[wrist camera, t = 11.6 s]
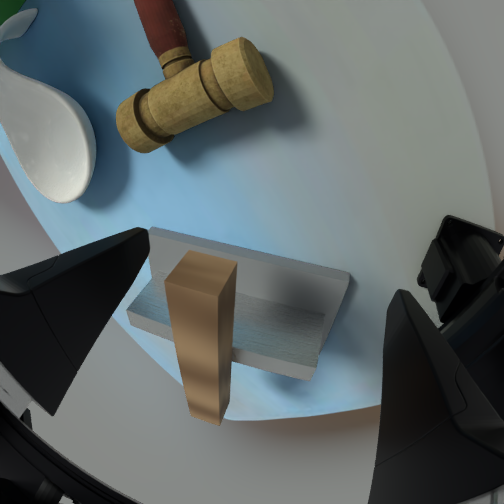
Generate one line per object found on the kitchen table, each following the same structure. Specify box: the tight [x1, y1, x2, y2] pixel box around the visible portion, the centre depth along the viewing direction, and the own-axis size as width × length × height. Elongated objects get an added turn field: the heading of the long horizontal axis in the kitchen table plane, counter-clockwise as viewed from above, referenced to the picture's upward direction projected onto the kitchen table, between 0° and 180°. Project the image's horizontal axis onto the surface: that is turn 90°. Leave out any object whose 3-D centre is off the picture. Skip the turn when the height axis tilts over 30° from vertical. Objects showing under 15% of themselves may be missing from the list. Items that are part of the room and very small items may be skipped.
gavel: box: [116, 0, 274, 153], centre depth 14 cm, size 21×5×10 cm
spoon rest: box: [0, 8, 96, 203], centre depth 18 cm, size 24×12×7 cm, turn 26°
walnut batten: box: [164, 250, 237, 426], centre depth 21 cm, size 18×3×3 cm, turn 175°
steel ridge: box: [126, 270, 325, 381], centre depth 24 cm, size 16×2×6 cm, turn 85°
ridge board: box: [148, 227, 349, 355], centre depth 27 cm, size 18×10×1 cm, turn 85°
